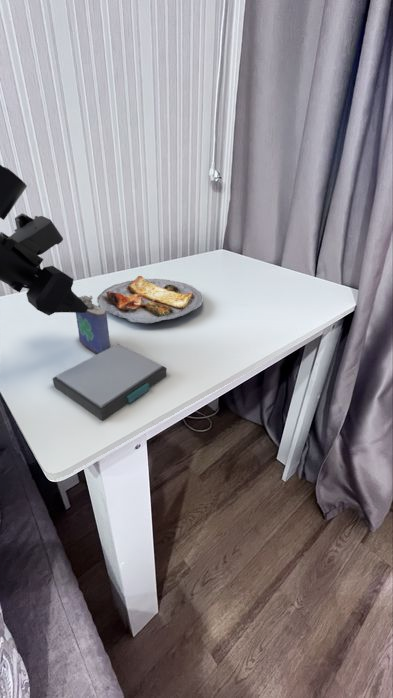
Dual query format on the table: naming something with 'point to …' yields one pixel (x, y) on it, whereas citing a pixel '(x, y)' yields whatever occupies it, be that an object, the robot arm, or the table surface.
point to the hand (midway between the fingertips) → (73, 300)
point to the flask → (93, 327)
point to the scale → (109, 380)
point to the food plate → (150, 299)
